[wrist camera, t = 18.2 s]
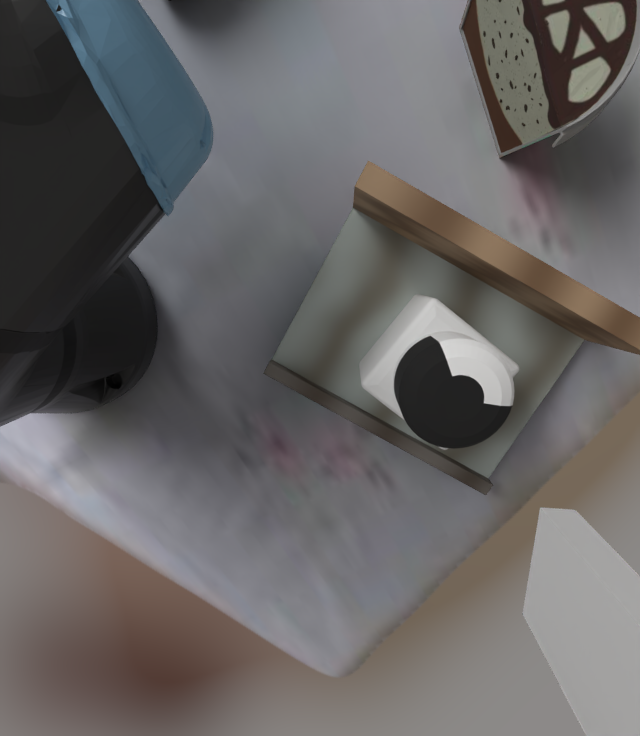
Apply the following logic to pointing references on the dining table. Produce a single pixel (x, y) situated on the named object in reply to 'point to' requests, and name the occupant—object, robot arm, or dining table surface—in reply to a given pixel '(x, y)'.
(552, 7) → the food container
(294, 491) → the dining table surface
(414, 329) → the medicine bottle
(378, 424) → the wall board
